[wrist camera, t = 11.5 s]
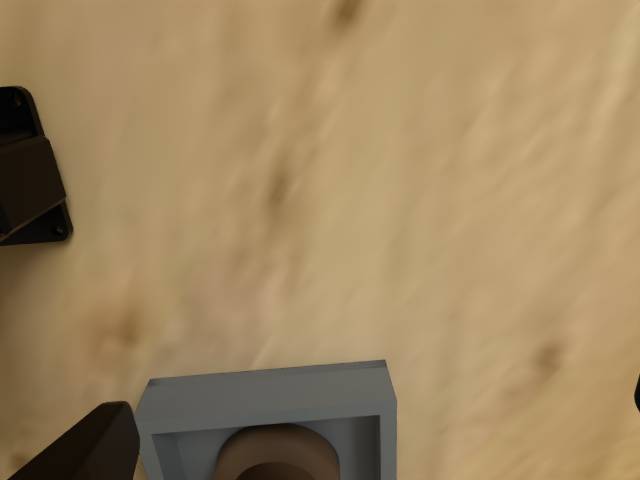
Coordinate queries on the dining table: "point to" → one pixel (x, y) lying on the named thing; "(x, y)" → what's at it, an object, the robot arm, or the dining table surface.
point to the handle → (277, 455)
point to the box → (270, 416)
